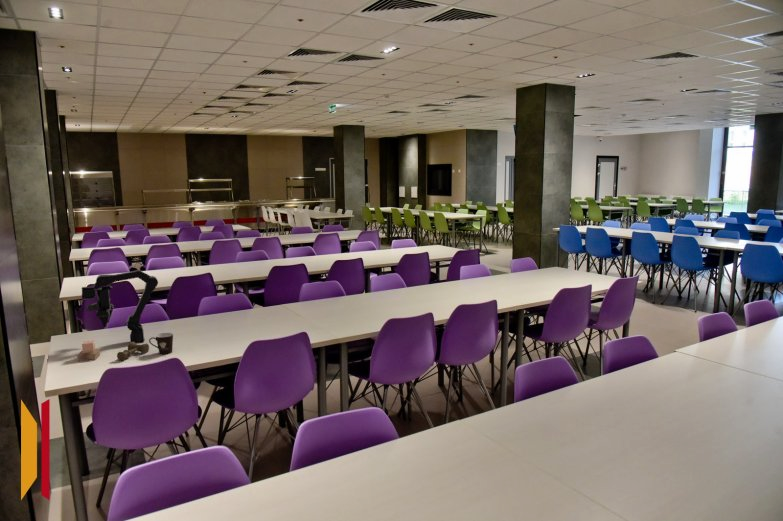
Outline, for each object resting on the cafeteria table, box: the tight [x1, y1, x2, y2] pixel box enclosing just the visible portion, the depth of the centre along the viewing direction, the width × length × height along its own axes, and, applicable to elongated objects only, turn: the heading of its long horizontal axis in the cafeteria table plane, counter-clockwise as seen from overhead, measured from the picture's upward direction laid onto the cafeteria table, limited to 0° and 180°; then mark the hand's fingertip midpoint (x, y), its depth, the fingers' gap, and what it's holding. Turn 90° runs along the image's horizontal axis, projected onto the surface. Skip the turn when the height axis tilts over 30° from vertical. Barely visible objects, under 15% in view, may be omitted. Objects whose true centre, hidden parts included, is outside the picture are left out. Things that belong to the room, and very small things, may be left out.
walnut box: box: [77, 348, 101, 362], centre depth 275 cm, size 8×8×4 cm
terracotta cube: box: [81, 339, 96, 353], centre depth 274 cm, size 5×5×5 cm
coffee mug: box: [148, 332, 174, 356], centre depth 283 cm, size 12×9×10 cm
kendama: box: [116, 341, 150, 362], centre depth 280 cm, size 6×10×20 cm
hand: (106, 324), depth 294 cm, fingers open, 9 cm apart
